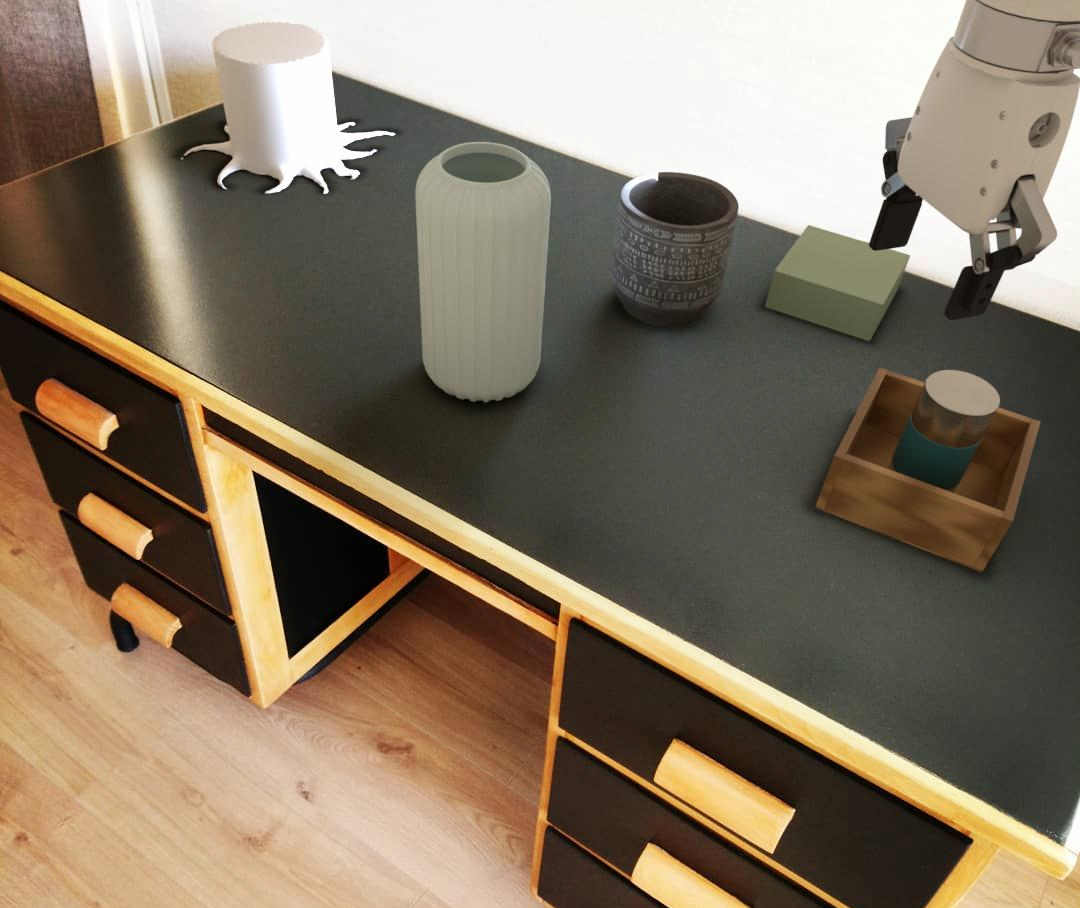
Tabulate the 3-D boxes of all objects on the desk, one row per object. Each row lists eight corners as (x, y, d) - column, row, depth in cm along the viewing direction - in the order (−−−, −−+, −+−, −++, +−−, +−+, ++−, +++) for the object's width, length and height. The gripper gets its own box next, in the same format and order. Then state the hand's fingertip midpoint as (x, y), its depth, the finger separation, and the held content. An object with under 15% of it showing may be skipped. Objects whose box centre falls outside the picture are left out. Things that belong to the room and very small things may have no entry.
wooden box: (1009, 475, 88) (1040, 421, 83) (979, 575, 79) (1013, 521, 74) (858, 421, 92) (879, 367, 87) (813, 510, 83) (834, 455, 78)
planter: (718, 286, 108) (742, 180, 99) (712, 346, 100) (736, 236, 90) (614, 271, 109) (627, 164, 100) (599, 329, 101) (612, 218, 91)
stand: (895, 294, 109) (910, 255, 105) (868, 344, 101) (883, 304, 98) (797, 263, 112) (808, 224, 109) (763, 310, 105) (774, 270, 101)
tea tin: (957, 480, 86) (1007, 384, 78) (942, 521, 82) (993, 424, 74) (892, 457, 88) (934, 360, 80) (875, 495, 84) (917, 398, 76)
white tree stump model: (304, 215, 114) (288, 98, 104) (145, 165, 121) (115, 50, 111) (412, 139, 130) (407, 31, 120) (266, 98, 136) (249, -7, 126)
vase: (508, 335, 99) (516, 124, 83) (558, 398, 92) (577, 181, 76) (406, 360, 95) (393, 143, 79) (450, 427, 88) (446, 205, 72)
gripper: (1173, 84, 53) (1040, 337, 66) (982, -15, 64) (899, 218, 77) (1068, 95, 51) (951, 354, 64) (889, -9, 62) (820, 229, 75)
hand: (923, 279), depth 70 cm, fingers open, 9 cm apart
